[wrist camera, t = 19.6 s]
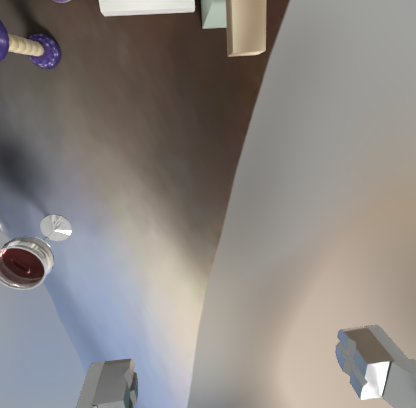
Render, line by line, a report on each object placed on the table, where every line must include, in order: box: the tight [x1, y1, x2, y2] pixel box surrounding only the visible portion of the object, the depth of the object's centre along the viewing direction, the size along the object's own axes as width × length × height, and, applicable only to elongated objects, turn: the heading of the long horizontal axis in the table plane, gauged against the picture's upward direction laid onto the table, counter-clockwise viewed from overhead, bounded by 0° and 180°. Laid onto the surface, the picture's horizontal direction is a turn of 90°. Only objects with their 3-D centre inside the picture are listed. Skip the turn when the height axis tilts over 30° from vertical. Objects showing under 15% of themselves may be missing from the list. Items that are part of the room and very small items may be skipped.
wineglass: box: [0, 215, 71, 290], centre depth 42 cm, size 7×7×12 cm
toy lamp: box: [0, 21, 61, 69], centre depth 30 cm, size 5×5×17 cm
